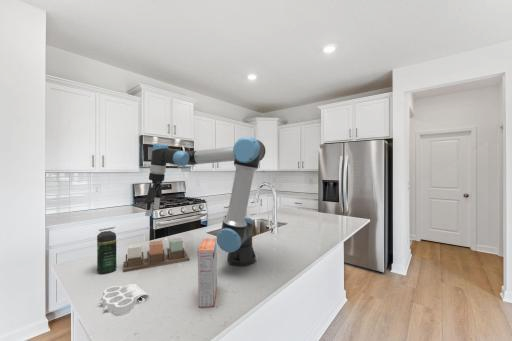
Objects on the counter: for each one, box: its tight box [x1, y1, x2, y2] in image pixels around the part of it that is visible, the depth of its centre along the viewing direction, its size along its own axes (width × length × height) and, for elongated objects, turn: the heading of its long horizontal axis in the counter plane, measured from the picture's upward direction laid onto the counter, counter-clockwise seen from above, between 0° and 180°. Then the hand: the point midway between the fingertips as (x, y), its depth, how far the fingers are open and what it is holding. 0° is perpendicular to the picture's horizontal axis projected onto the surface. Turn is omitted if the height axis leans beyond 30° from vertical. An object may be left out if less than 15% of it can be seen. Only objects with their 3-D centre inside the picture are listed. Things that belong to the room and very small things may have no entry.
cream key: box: [127, 242, 142, 260], centre depth 121 cm, size 6×6×6 cm
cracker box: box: [197, 238, 218, 308], centre depth 93 cm, size 14×6×21 cm, turn 5°
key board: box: [122, 247, 190, 273], centre depth 126 cm, size 10×31×6 cm, turn 117°
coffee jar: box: [96, 230, 117, 274], centre depth 117 cm, size 10×8×19 cm
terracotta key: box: [148, 240, 164, 255], centre depth 126 cm, size 6×6×6 cm
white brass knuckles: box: [97, 283, 149, 316], centre depth 90 cm, size 3×18×15 cm
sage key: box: [168, 237, 184, 252], centre depth 130 cm, size 6×6×6 cm
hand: (152, 212), depth 128 cm, fingers open, 13 cm apart
